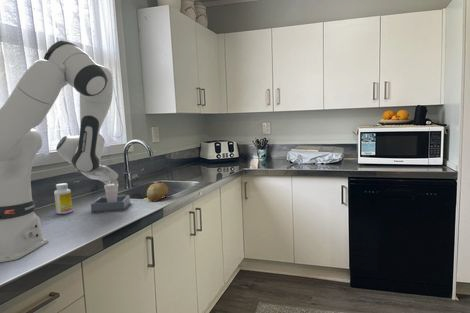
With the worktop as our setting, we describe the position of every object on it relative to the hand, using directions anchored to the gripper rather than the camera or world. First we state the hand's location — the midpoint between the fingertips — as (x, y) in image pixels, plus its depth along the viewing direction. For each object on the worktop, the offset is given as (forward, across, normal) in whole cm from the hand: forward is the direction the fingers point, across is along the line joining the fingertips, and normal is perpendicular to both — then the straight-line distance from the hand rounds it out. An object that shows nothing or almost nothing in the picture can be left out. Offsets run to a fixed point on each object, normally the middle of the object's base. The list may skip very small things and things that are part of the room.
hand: (112, 183), depth 159 cm
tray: (+7, 0, +9) cm, 11 cm away
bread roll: (+24, -4, -7) cm, 26 cm away
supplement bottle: (-4, +13, +20) cm, 24 cm away
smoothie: (+6, 0, +8) cm, 10 cm away
